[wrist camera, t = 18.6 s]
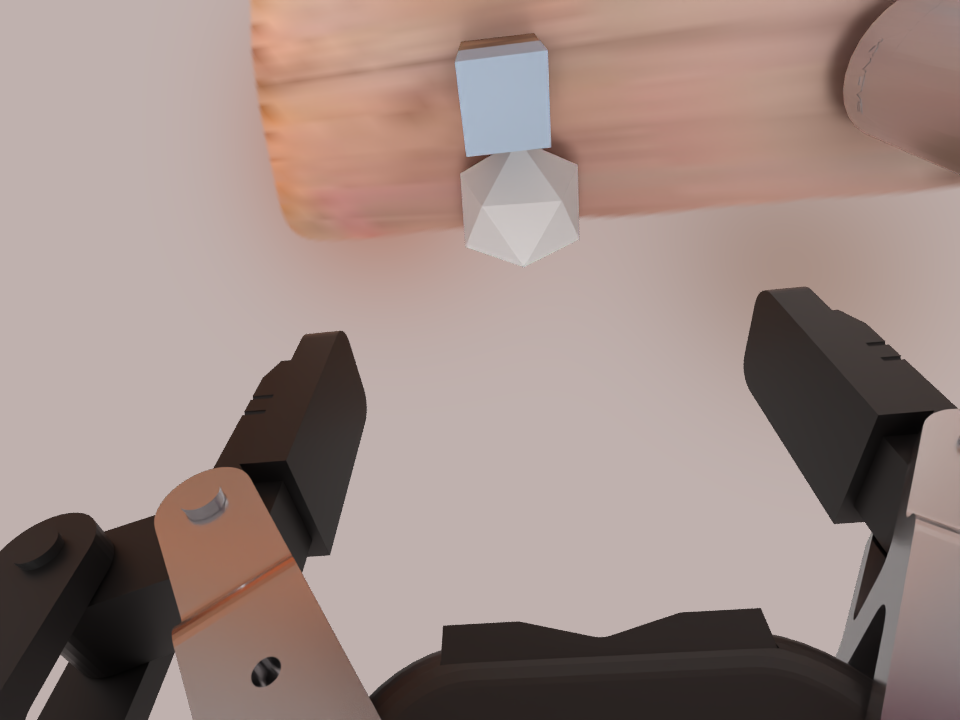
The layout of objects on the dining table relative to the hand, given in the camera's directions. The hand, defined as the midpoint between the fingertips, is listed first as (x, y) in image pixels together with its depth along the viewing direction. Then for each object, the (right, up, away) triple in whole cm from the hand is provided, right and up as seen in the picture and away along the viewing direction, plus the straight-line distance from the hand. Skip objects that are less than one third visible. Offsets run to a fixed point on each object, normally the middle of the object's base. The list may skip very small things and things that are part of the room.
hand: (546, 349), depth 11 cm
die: (+1, +15, +25) cm, 29 cm away
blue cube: (0, +17, +24) cm, 29 cm away
